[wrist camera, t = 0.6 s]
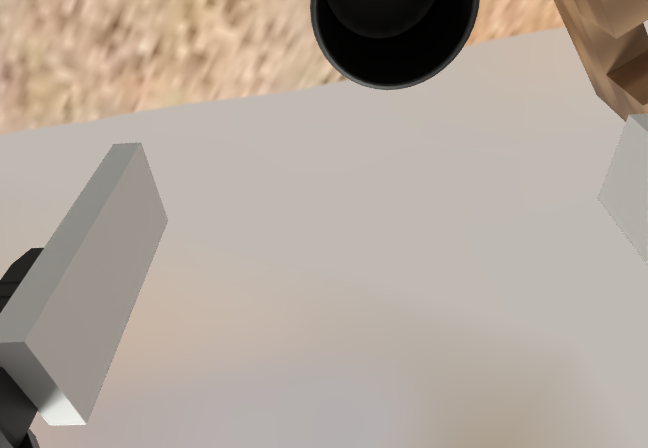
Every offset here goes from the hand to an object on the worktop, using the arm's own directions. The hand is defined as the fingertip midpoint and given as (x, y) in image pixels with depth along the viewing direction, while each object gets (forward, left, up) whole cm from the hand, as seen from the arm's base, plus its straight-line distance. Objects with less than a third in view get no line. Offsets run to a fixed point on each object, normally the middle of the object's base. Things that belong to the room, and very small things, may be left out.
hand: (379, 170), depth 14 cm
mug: (0, +1, -26) cm, 26 cm away
